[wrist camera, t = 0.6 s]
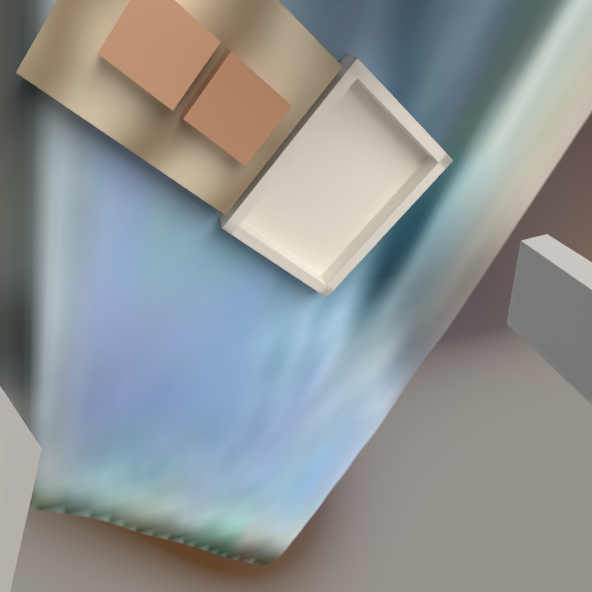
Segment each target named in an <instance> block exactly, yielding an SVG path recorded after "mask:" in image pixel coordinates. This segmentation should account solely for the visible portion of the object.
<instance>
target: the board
mask: <svg viewBox="0 0 592 592" xmlns="http://www.w3.org/2000/svg"><path fill="white" fill-rule="evenodd" d="M175 1H176V2H177V3H178V4H179V5H181V6H182V7H183V8H184V9H185V10H186V11H187V12H188V13H189V14H191V15H192V16H193V17H194V18H195V19H196V20H197V21H198V22H199V23H201V24H202V25H203V26H204V27H205V28H206V29H207V30H208V31H209V32H211V33H212V34H213V35H214V36H215V37H216V38H217V39H218V40H219V41H220V44H219V45H218V47H217V48H216V50H215V51H214V52H213V54H212V55H211V57H210V58H209V60H208V61H207V63H206V64H205V65H204V67H203V68H202V70H201V71H200V73H199V74H198V75H197V77H196V78H195V80H194V81H193V83H192V84H191V85H190V87H189V88H188V90H187V91H186V93H185V94H184V96H183V97H182V98H181V100H180V101H179V103H178V104H177V106H176V107H175V108H174V110H173V111H172V110H171V109H170V108H168V107H167V106H166V105H164V104H163V103H162V102H160V101H159V100H158V99H157V98H155V97H154V96H153V95H151V94H150V93H149V92H147V91H146V90H145V89H143V88H142V87H141V86H140V85H138V84H137V83H136V82H134V81H133V80H132V79H130V78H129V77H128V76H126V75H125V74H124V73H123V72H121V71H120V70H119V69H117V68H116V67H115V66H113V65H112V64H111V63H109V62H108V61H107V60H106V59H104V58H103V57H102V56H100V55H99V54H98V52H99V50H100V49H101V47H102V45H103V44H104V42H105V41H106V39H107V37H108V36H109V34H110V32H111V31H112V29H113V28H114V26H115V24H116V23H117V21H118V20H119V18H120V16H121V15H122V13H123V11H124V10H125V8H126V7H127V5H128V3H129V2H130V0H57V2H56V4H55V5H54V7H53V9H52V11H51V12H50V14H49V16H48V18H47V19H46V21H45V23H44V24H43V26H42V28H41V30H40V31H39V33H38V35H37V37H36V38H35V40H34V42H33V44H32V45H31V47H30V49H29V51H28V52H27V54H26V56H25V58H24V59H23V61H22V63H21V65H20V66H19V68H18V70H17V72H16V73H17V74H19V75H20V76H22V77H23V78H24V79H26V80H27V81H29V82H30V83H32V84H33V85H35V86H36V87H38V88H39V89H41V90H42V91H44V92H45V93H46V94H48V95H49V96H51V97H52V98H54V99H55V100H57V101H58V102H60V103H61V104H63V105H64V106H66V107H67V108H69V109H70V110H71V111H73V112H74V113H76V114H77V115H79V116H80V117H82V118H83V119H85V120H86V121H88V122H89V123H91V124H92V125H94V126H95V127H96V128H98V129H99V130H101V131H102V132H104V133H105V134H107V135H108V136H110V137H111V138H113V139H114V140H116V141H117V142H118V143H120V144H121V145H123V146H124V147H126V148H127V149H129V150H130V151H132V152H133V153H135V154H136V155H138V156H139V157H141V158H142V159H143V160H145V161H146V162H148V163H149V164H151V165H152V166H154V167H155V168H157V169H158V170H160V171H161V172H163V173H164V174H165V175H167V176H168V177H170V178H171V179H173V180H174V181H176V182H177V183H179V184H180V185H182V186H183V187H185V188H186V189H188V190H189V191H190V192H192V193H193V194H195V195H196V196H198V197H199V198H201V199H202V200H204V201H205V202H207V203H208V204H210V205H211V206H213V207H214V208H215V209H217V210H218V211H220V212H221V213H223V214H224V215H226V214H227V213H228V211H229V210H230V209H231V208H232V206H233V205H234V204H235V203H236V201H237V200H238V199H239V198H240V196H241V195H242V194H243V193H244V191H245V190H246V189H247V187H248V186H249V185H250V184H251V182H252V181H253V180H254V179H255V177H256V176H257V175H258V174H259V172H260V171H261V170H262V168H263V167H264V166H265V165H266V163H267V162H268V161H269V160H270V158H271V157H272V156H273V155H274V153H275V152H276V151H277V149H278V148H279V147H280V146H281V144H282V143H283V142H284V141H285V139H286V138H287V137H288V136H289V134H290V133H291V132H292V131H293V129H294V128H295V127H296V125H297V124H298V123H299V122H300V120H301V119H302V118H303V117H304V115H305V114H306V113H307V112H308V110H309V109H310V108H311V106H312V105H313V104H314V103H315V101H316V100H317V99H318V98H319V96H320V95H321V94H322V93H323V91H324V90H325V89H326V87H327V86H328V85H329V84H330V82H331V81H332V80H333V79H334V77H335V76H336V75H337V74H338V72H339V71H340V70H341V69H342V67H343V66H342V65H341V64H340V63H339V62H338V61H337V60H336V59H335V58H334V57H333V56H332V55H331V54H330V53H329V52H328V51H327V50H326V49H325V48H324V47H323V46H322V45H321V44H320V43H319V42H318V41H317V40H316V38H315V37H314V36H313V35H312V34H311V33H310V32H309V31H308V30H307V29H306V28H305V27H304V26H303V25H302V24H301V23H300V22H299V21H298V20H297V19H296V18H295V17H294V16H293V15H292V14H291V13H290V12H289V11H288V10H287V9H286V7H285V6H284V5H283V4H282V3H281V2H280V1H279V0H175ZM227 48H228V49H229V50H230V51H232V52H233V53H234V54H235V55H236V56H237V57H238V58H239V59H240V60H242V61H243V62H244V63H245V64H246V65H247V66H248V67H249V68H250V69H252V70H253V71H254V72H255V73H256V74H257V75H258V76H259V77H260V78H261V79H263V80H264V81H265V82H266V83H267V84H268V85H269V86H270V87H271V88H273V89H274V90H275V91H276V92H277V93H278V94H279V95H280V96H281V97H283V98H284V99H285V100H286V101H287V102H288V103H289V104H290V105H291V106H292V107H291V108H290V110H289V111H288V112H287V113H286V115H285V116H284V117H283V119H282V120H281V121H280V122H279V124H278V125H277V126H276V128H275V129H274V130H273V131H272V133H271V134H270V135H269V137H268V138H267V139H266V140H265V142H264V143H263V144H262V146H261V147H260V148H259V149H258V151H257V152H256V153H255V155H254V156H253V157H252V158H251V160H250V161H249V162H248V164H247V165H246V166H244V165H243V164H242V163H240V162H239V161H238V160H236V159H235V158H234V157H232V156H231V155H230V154H228V153H227V152H226V151H225V150H223V149H222V148H221V147H219V146H218V145H217V144H215V143H214V142H213V141H211V140H210V139H209V138H208V137H206V136H205V135H204V134H202V133H201V132H200V131H198V130H197V129H196V128H194V127H193V126H192V125H191V124H189V123H188V122H187V121H185V120H184V119H183V115H182V112H183V110H184V109H185V107H186V106H187V105H188V103H189V102H190V100H191V99H192V97H193V96H194V95H195V93H196V92H197V90H198V89H199V88H200V86H201V85H202V83H203V82H204V80H205V79H206V78H207V76H208V75H209V73H210V72H211V71H212V69H213V68H214V66H215V65H216V63H217V62H218V61H219V59H220V58H221V56H222V55H223V53H224V52H225V51H226V49H227Z"/></svg>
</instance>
